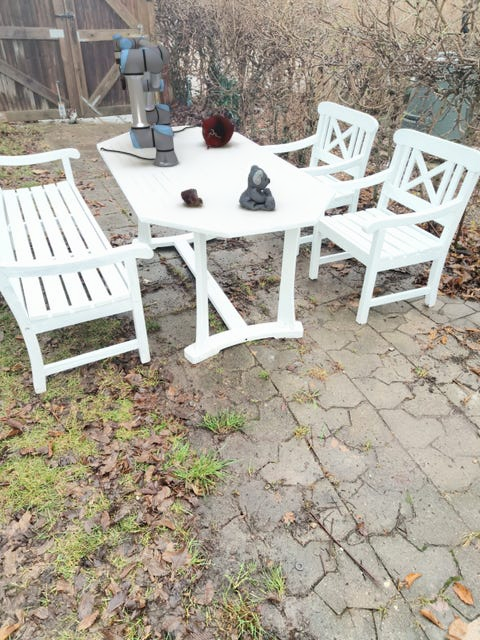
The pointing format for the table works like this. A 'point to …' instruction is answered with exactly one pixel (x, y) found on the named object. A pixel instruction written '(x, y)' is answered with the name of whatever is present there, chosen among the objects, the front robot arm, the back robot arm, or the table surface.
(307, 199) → the table surface
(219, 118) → the dark red rounded piece
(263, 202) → the koala plush
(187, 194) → the rock
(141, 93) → the front robot arm
